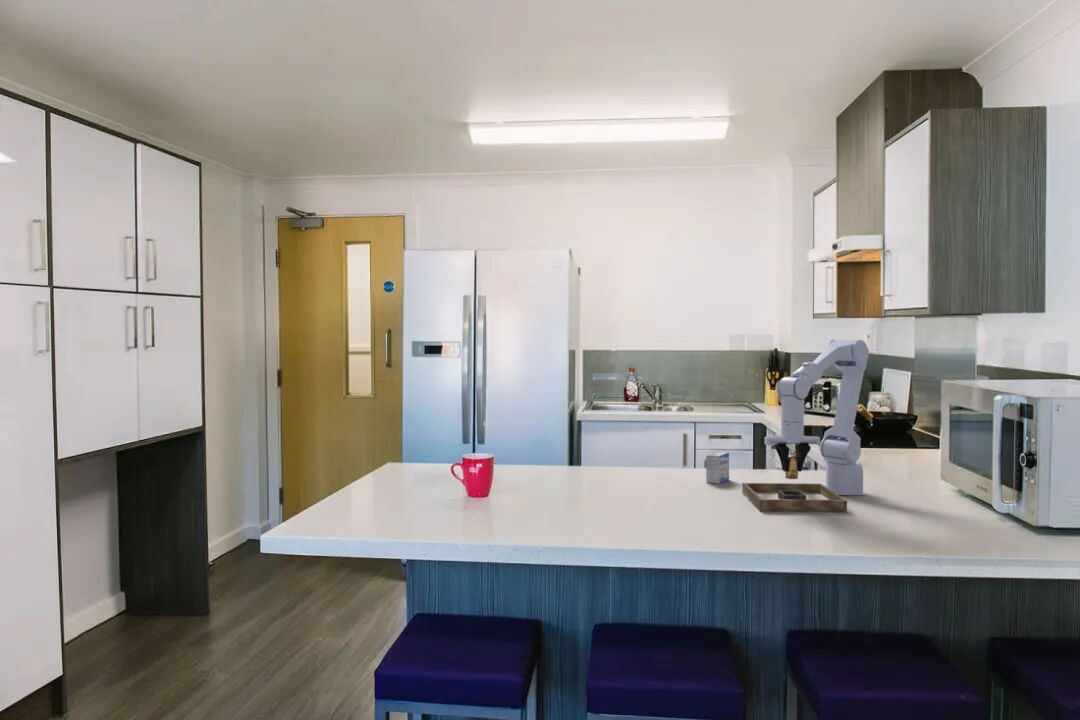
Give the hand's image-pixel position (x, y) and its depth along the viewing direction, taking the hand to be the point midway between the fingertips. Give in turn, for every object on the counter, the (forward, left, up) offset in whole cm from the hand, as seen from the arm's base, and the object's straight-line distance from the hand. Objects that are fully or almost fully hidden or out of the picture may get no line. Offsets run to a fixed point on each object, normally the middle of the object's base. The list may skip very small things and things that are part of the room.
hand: (791, 470), depth 189 cm
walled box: (0, 0, -9) cm, 9 cm away
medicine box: (+15, -26, -9) cm, 31 cm away
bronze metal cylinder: (0, 0, -2) cm, 2 cm away
